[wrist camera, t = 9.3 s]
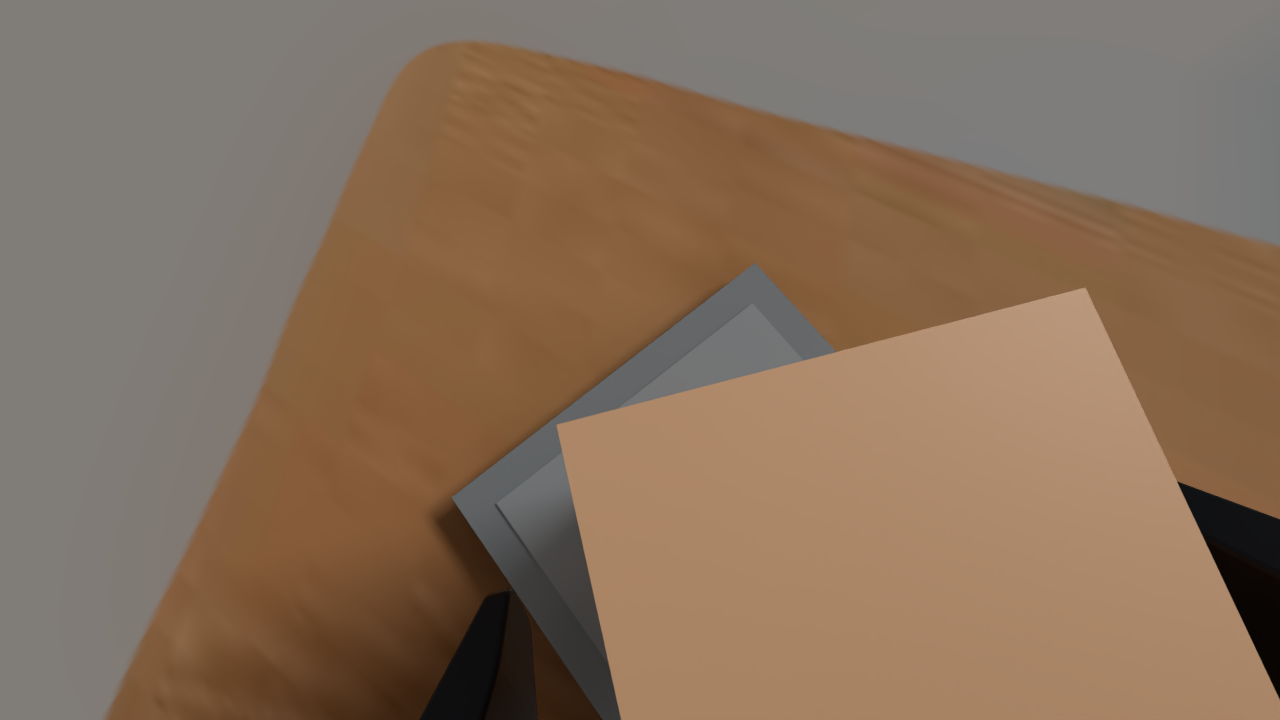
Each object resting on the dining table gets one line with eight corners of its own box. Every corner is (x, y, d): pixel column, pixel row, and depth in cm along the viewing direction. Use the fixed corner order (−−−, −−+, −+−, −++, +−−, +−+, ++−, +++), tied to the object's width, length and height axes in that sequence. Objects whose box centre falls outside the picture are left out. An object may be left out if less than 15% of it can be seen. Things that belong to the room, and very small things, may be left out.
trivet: (703, 845, 16) (707, 876, 14) (465, 497, 18) (450, 497, 17) (1010, 565, 17) (1038, 572, 16) (749, 276, 19) (755, 261, 18)
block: (846, 601, 16) (1387, 929, 4) (673, 647, 16) (709, 1120, 4) (791, 428, 17) (1085, 288, 5) (630, 470, 17) (556, 424, 5)
